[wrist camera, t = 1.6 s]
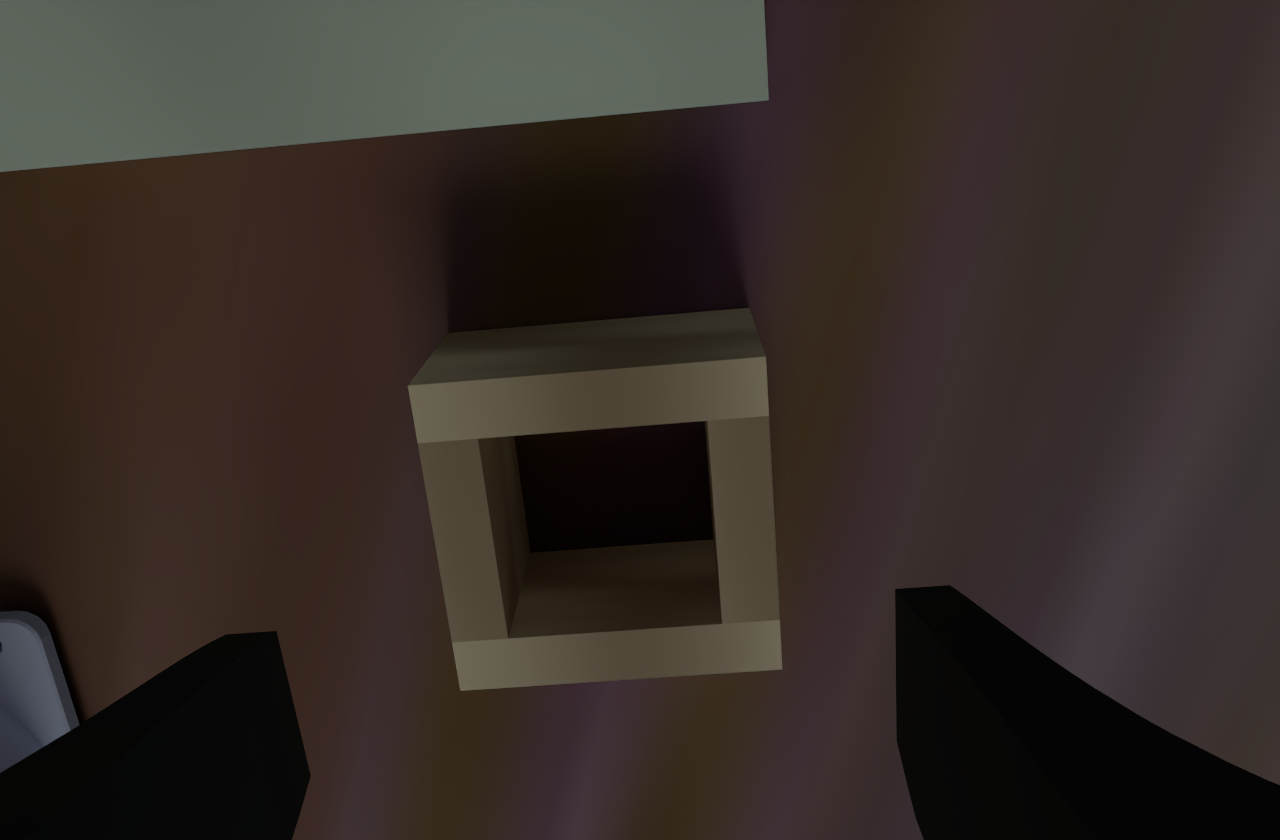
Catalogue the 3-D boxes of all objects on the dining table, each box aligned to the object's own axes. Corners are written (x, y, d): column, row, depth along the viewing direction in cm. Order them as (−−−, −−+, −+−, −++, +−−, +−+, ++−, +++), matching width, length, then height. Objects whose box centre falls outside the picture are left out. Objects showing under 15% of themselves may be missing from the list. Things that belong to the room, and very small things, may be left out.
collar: (489, 598, 20) (460, 690, 17) (447, 333, 18) (408, 385, 15) (764, 579, 19) (782, 669, 17) (749, 307, 18) (765, 357, 15)
